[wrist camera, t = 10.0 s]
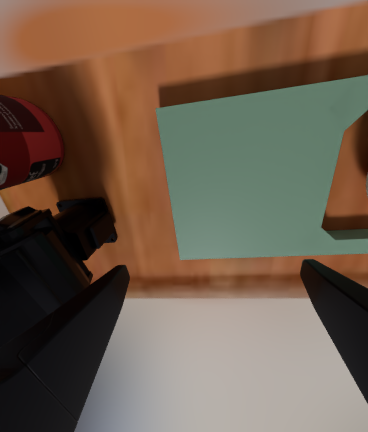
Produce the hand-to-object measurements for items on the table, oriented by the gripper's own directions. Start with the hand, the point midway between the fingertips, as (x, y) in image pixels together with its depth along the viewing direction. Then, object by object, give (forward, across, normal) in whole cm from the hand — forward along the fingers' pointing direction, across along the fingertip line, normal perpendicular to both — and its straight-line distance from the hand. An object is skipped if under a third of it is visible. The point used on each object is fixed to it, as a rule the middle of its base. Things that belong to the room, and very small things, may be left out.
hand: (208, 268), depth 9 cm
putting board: (+13, -11, 0) cm, 17 cm away
